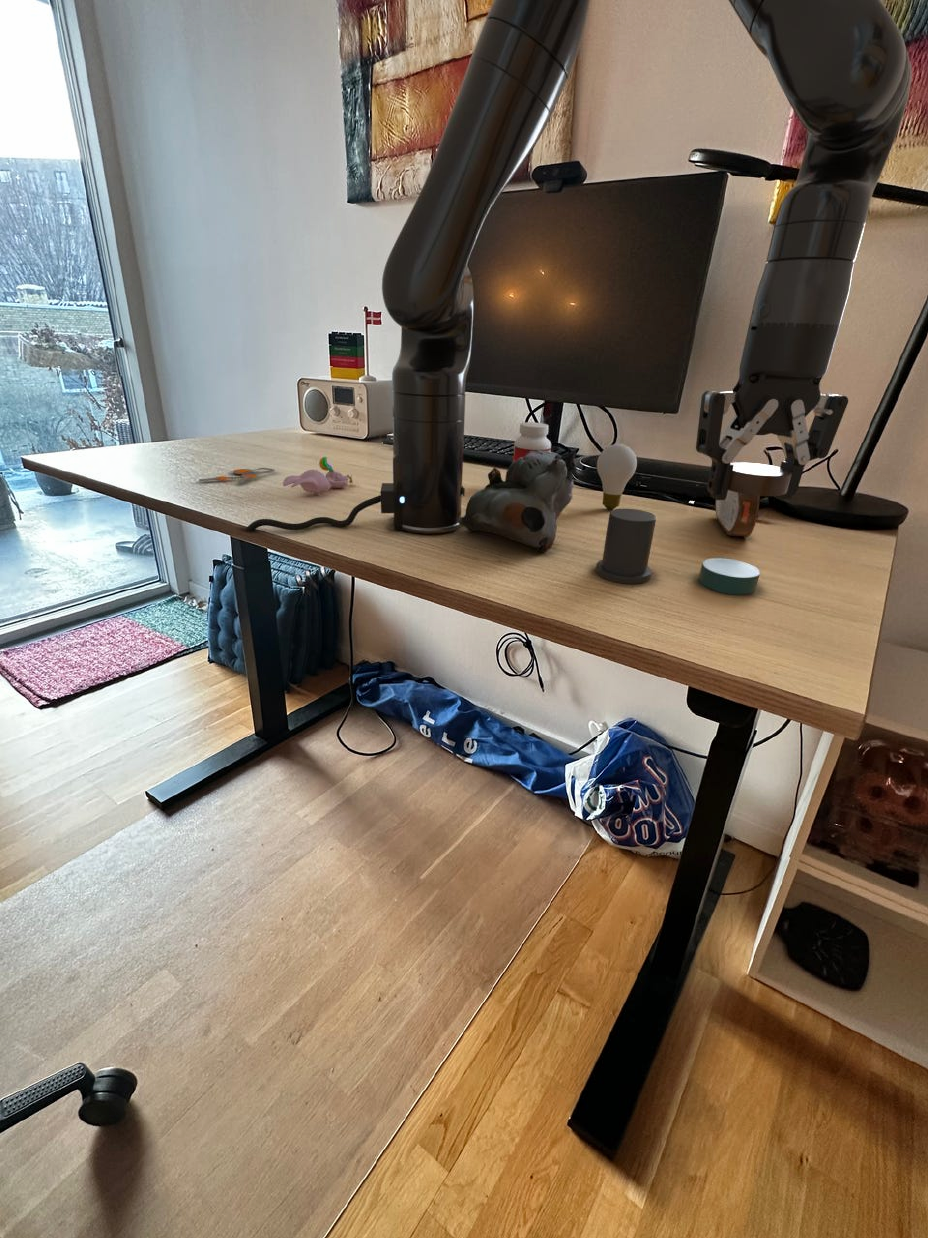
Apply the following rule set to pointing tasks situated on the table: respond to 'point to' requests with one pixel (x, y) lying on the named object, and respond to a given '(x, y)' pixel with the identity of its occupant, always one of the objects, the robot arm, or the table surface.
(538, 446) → the pill bottle
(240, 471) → the key chain
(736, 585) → the teal chip
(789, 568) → the table surface
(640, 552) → the upturned cup
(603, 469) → the light bulb
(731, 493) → the tin
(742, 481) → the walnut chip
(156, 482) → the table surface
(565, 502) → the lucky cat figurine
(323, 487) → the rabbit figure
